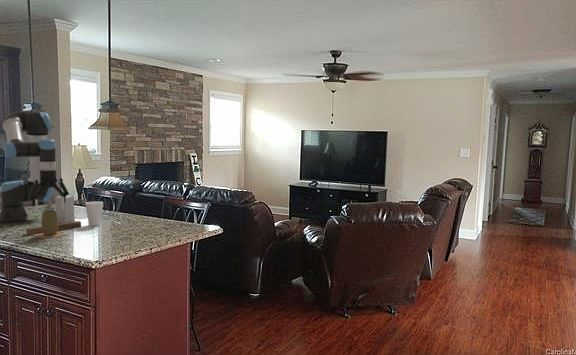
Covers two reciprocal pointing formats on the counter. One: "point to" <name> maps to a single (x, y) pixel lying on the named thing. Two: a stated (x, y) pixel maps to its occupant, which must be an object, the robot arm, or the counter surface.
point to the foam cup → (94, 212)
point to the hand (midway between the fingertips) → (49, 210)
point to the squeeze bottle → (49, 220)
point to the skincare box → (65, 210)
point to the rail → (38, 231)
